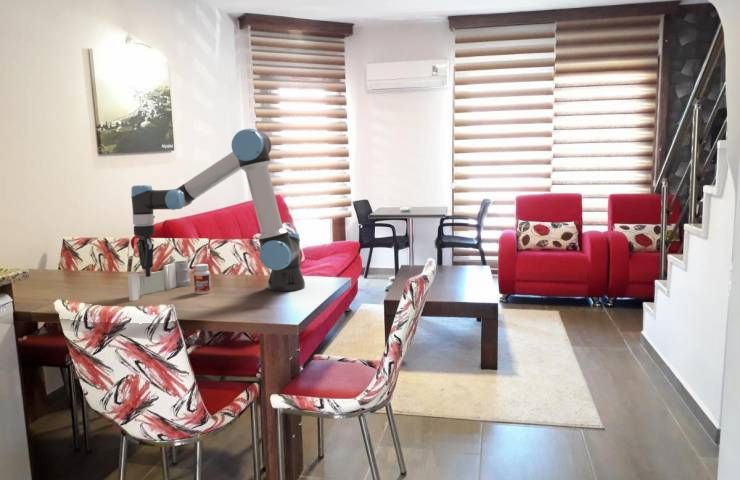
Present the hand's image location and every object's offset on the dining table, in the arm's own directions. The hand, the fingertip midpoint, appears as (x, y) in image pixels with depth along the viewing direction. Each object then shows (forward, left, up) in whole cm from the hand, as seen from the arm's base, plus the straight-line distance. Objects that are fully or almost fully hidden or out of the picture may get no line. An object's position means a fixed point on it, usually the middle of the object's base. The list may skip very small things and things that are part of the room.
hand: (147, 284), depth 226 cm
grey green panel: (+1, -2, -4) cm, 5 cm away
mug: (+1, -20, -4) cm, 21 cm away
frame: (-1, -2, -4) cm, 5 cm away
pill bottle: (-19, -9, -4) cm, 21 cm away
